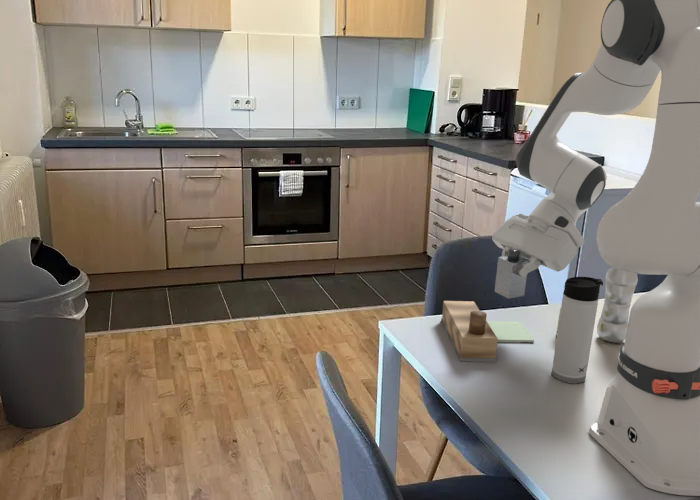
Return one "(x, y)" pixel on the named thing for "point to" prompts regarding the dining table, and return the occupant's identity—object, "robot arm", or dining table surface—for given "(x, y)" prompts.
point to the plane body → (469, 331)
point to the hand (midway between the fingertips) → (509, 270)
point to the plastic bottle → (616, 305)
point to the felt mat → (510, 331)
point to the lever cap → (510, 275)
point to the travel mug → (576, 328)
